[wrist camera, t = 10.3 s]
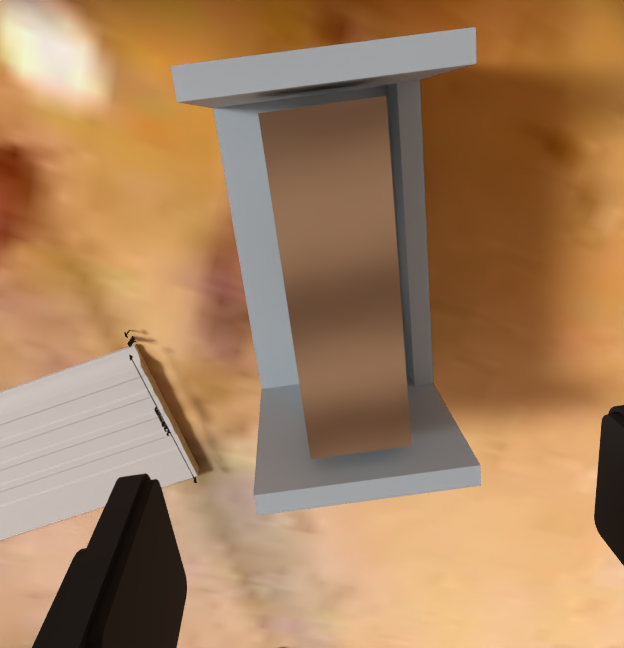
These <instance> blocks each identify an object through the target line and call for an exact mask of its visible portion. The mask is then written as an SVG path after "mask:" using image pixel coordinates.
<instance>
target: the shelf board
mask: <svg viewBox="0 0 624 648" xmlns="http://www.w3.org/2000/svg"><path fill="white" fill-rule="evenodd" d="M258 116H259V122H260V129H261V136H262V142H263V149H264V155H265V162H266V168H267V175H268V182H269V188H270V195H271V201H272V208H273V214H274V221H275V227H276V234H277V241H278V247H279V254H280V260H281V267H282V273H283V280H284V286H285V293H286V300H287V306H288V313H289V319H290V326H291V332H292V339H293V345H294V352H295V359H296V365H297V372H298V378H299V385H300V391H301V398H302V404H303V411H304V418H305V424H306V431H307V437H308V444H309V450H310V457H311V459H319V458H326V457H333V456H340V455H347V454H354V453H362V452H369V451H376V450H383V449H390V448H397V447H405V446H412V445H411V431H410V417H409V404H408V390H407V376H406V362H405V348H404V335H403V321H402V307H401V293H400V279H399V266H398V252H397V238H396V224H395V210H394V197H393V183H392V169H391V155H390V141H389V128H388V114H387V100H386V96H380V97H373V98H366V99H358V100H351V101H344V102H337V103H329V104H322V105H315V106H307V107H300V108H293V109H285V110H278V111H271V112H264V113H258Z"/></svg>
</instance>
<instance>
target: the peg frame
mask: <svg viewBox="0 0 624 648" xmlns="http://www.w3.org/2000/svg"><path fill="white" fill-rule="evenodd" d="M474 64H476V27H471V28H463V29H456V30H448V31H440V32H432V33H424V34H416V35H409V36H401V37H393V38H385V39H377V40H370V41H362V42H354V43H346V44H338V45H331V46H323V47H315V48H307V49H299V50H292V51H284V52H276V53H268V54H260V55H253V56H245V57H237V58H229V59H221V60H214V61H206V62H198V63H190V64H182V65H175V66H170V67H171V72H172V77H173V82H174V88H175V93H176V98H177V102H179V103H185V104H191V105H197V106H203V107H209V108H213V111H214V117H215V122H216V128H217V134H218V140H219V145H220V151H221V157H222V163H223V169H224V174H225V180H226V186H227V192H228V198H229V203H230V209H231V215H232V221H233V226H234V232H235V238H236V244H237V250H238V255H239V261H240V267H241V273H242V279H243V284H244V290H245V296H246V302H247V308H248V313H249V319H250V325H251V331H252V336H253V342H254V348H255V354H256V360H257V365H258V371H259V377H260V383H261V389H262V390H261V404H260V417H259V430H258V444H257V457H256V471H255V484H254V500H255V505H256V510H257V515H265V514H272V513H280V512H287V511H295V510H302V509H310V508H317V507H325V506H332V505H340V504H347V503H355V502H362V501H370V500H377V499H384V498H392V497H399V496H407V495H414V494H422V493H429V492H437V491H444V490H452V489H459V488H467V487H474V486H481V477H480V464H479V462H478V460H477V458H476V457H475V455H474V453H473V452H472V450H471V448H470V446H469V445H468V443H467V441H466V439H465V438H464V436H463V434H462V432H461V431H460V429H459V427H458V425H457V424H456V422H455V420H454V418H453V417H452V415H451V413H450V412H449V410H448V408H447V406H446V405H445V403H444V401H443V399H442V398H441V396H440V394H439V392H438V391H437V389H436V387H435V385H434V383H433V361H432V339H431V316H430V294H429V271H428V249H427V226H426V204H425V181H424V159H423V136H422V114H421V91H420V80H421V79H425V78H428V77H432V76H435V75H439V74H442V73H446V72H449V71H453V70H456V69H460V68H463V67H467V66H470V65H474ZM380 96H386V100H387V114H388V128H389V141H390V155H391V169H392V183H393V197H394V210H395V224H396V238H397V252H398V266H399V279H400V293H401V307H402V321H403V335H404V348H405V362H406V376H407V390H408V404H409V417H410V431H411V445H412V446H405V447H397V448H390V449H383V450H376V451H369V452H362V453H354V454H347V455H340V456H333V457H326V458H319V459H311V457H310V450H309V444H308V437H307V431H306V424H305V418H304V411H303V404H302V398H301V391H300V385H299V378H298V372H297V365H296V359H295V352H294V345H293V339H292V332H291V326H290V319H289V313H288V306H287V300H286V293H285V286H284V280H283V273H282V267H281V260H280V254H279V247H278V241H277V234H276V227H275V221H274V214H273V208H272V201H271V195H270V188H269V182H268V175H267V168H266V162H265V155H264V149H263V142H262V136H261V129H260V122H259V116H258V113H264V112H271V111H278V110H285V109H293V108H300V107H307V106H315V105H322V104H329V103H337V102H344V101H351V100H358V99H366V98H373V97H380Z"/></svg>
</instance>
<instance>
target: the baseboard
mask: <svg viewBox="0 0 624 648" xmlns="http://www.w3.org/2000/svg"><path fill="white" fill-rule="evenodd" d="M129 331H130V330H129ZM129 331H128V332H127V334H128V333H129ZM124 333H125V332H124ZM127 334H126V333H125V337H127ZM127 338H128V337H127ZM134 340H135V339H134V338H133V336H132V337H131V339H130V341H129V342H128V343H127V344H128V345H129V347H126V348H123V349H120V350H117V351H114V352H111V353H109V354H106V355H103V356H100V357H97V358H94V359H91V360H88V361H86V362H83V363H80V364H77V365H74V366H71V367H68V368H66V369H63V370H60V371H57V372H54V373H51V374H48V375H45V376H43V377H40V378H37V379H34V380H31V381H28V382H25V383H22V384H20V385H17V386H14V387H11V388H8V389H5V390H2V391H0V540H3V539H6V538H9V537H12V536H15V535H18V534H21V533H24V532H27V531H30V530H33V529H37V528H40V527H43V526H46V525H49V524H52V523H55V522H58V521H61V520H64V519H67V518H70V517H73V516H76V515H79V514H83V513H86V512H89V511H92V510H95V509H98V508H101V507H104V506H105V505H106V503H107V501H108V498H109V496H110V494H111V492H112V489H113V487H114V485H115V483H116V481H117V479H118V478H119V477H124V476H131V475H138V474H145V473H146V474H148V475H149V477H150V479H151V480H153V479H157V480H158V481H159V482H160V485H161V488H162V487H165V486H168V485H171V484H174V483H177V482H181V481H184V480H187V479H190V478H194V477H195V478H194V482H195V483H197V481H196V476H198V472H199V467H198V465H197V463H196V461H195V459H194V457H193V455H192V453H191V451H190V449H189V447H188V445H187V443H186V441H185V439H184V437H183V435H182V433H181V431H180V429H179V427H178V425H177V423H176V421H175V419H174V418H173V416H172V414H171V412H170V410H169V408H168V406H167V404H166V402H165V400H164V398H163V396H162V394H161V392H160V390H159V388H158V386H157V384H156V382H155V380H154V378H153V376H152V374H151V372H150V370H149V368H148V366H147V364H146V362H145V361H144V359H143V357H142V355H141V353H140V351H139V349H138V347H137V345H136V344H134V345H132V344H133V343H134V342H136V341H134Z"/></svg>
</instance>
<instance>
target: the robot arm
mask: <svg viewBox="0 0 624 648" xmlns="http://www.w3.org/2000/svg"><path fill="white" fill-rule="evenodd" d="M594 520H595V525H596V528H597V530H598V532H599V534H600V535H601V537H602V538H603V539H604V541H605V542H606V543H607V545H608V546H609V547H610V549H611V550H612V551H613V552H614V554H615V555H616V556H617V558H618V559H619V560H620V562H621V563H622V564H623V565H624V405H621V406H614V407H612V408H611V409H610V411H609V414H608V415H605V416H604V417H603V418H602V425H601V437H600V450H599V462H598V475H597V488H596V500H595V513H594ZM186 594H187V581H186V575H185V571H184V568H183V564H182V561H181V557H180V553H179V550H178V546H177V543H176V539H175V535H174V532H173V528H172V525H171V521H170V518H169V514H168V510H167V507H166V503H165V500H164V496H163V492H162V489H161V485H160V482H159V481H158V480H157V479H153V480H151V479H150V477H149V475H148V474H146V473H145V474H138V475H131V476H124V477H119V478H118V479H117V481H116V483H115V485H114V487H113V489H112V492H111V494H110V496H109V498H108V501H107V503H106V505H105V508H104V510H103V512H102V514H101V517H100V519H99V521H98V523H97V526H96V528H95V530H94V532H93V535H92V537H91V539H90V541H89V544H88V546H87V548H85V549H81V550H79V551H78V552H77V553H76V555H75V556H74V558H73V560H72V562H71V564H70V567H69V569H68V571H67V573H66V575H65V577H64V580H63V582H62V584H61V586H60V588H59V590H58V592H57V595H56V597H55V599H54V601H53V603H52V605H51V608H50V610H49V612H48V614H47V616H46V618H45V621H44V623H43V625H42V627H41V629H40V631H39V634H38V636H37V638H36V640H35V642H34V644H33V647H32V648H176V647H177V642H178V637H179V632H180V626H181V621H182V616H183V611H184V605H185V600H186Z"/></svg>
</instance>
